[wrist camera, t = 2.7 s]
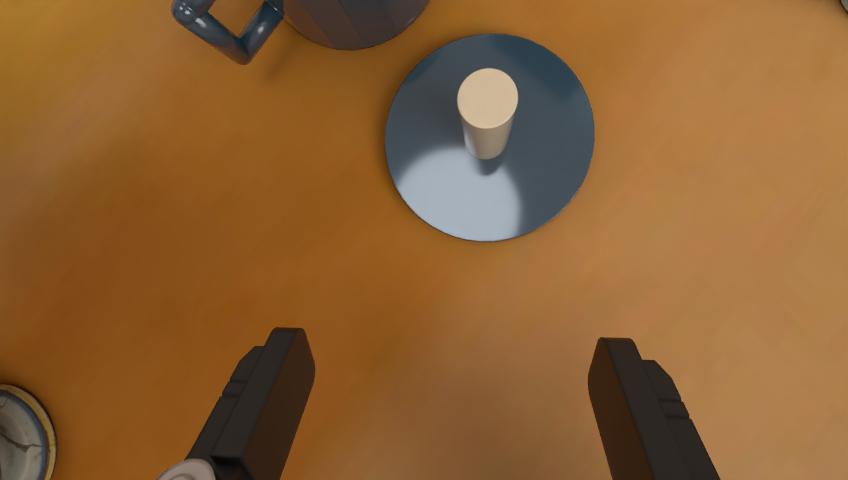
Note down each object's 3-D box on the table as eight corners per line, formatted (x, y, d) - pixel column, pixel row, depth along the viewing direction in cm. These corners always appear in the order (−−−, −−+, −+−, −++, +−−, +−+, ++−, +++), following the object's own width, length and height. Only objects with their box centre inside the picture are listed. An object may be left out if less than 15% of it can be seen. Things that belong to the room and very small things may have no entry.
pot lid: (497, 282, 28) (504, 305, 19) (349, 157, 29) (291, 123, 20) (635, 124, 27) (712, 69, 18) (474, 0, 28) (470, -110, 19)
